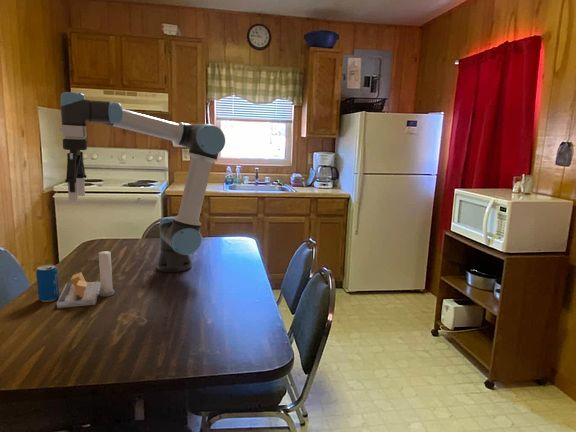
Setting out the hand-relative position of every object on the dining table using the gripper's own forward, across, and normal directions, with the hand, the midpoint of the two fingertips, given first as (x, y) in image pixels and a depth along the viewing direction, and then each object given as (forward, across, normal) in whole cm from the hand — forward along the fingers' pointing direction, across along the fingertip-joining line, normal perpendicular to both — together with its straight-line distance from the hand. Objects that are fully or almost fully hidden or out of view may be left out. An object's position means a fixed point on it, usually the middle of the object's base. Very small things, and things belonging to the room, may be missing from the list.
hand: (77, 198), depth 149 cm
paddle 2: (+34, +9, 0) cm, 35 cm away
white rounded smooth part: (+35, +4, +9) cm, 37 cm away
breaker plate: (+36, +4, 0) cm, 36 cm away
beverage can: (+36, +5, -10) cm, 37 cm away
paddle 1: (+34, 0, 0) cm, 34 cm away
